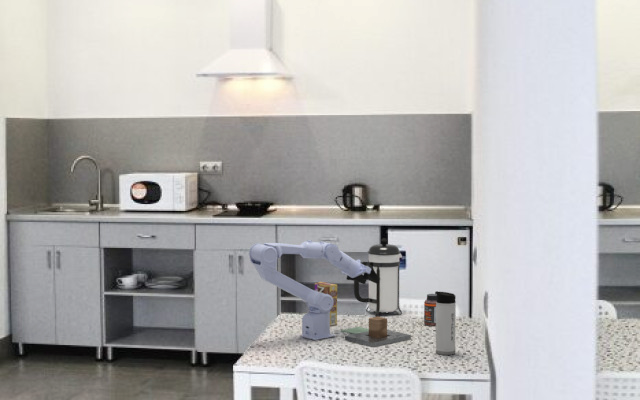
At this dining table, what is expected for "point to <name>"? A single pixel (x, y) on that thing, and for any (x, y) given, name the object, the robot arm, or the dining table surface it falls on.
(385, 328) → the plug
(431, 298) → the supplement bottle
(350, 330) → the pad
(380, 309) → the coffee press
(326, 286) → the candy box
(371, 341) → the grey plate with hole
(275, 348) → the dining table surface
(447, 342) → the travel mug
